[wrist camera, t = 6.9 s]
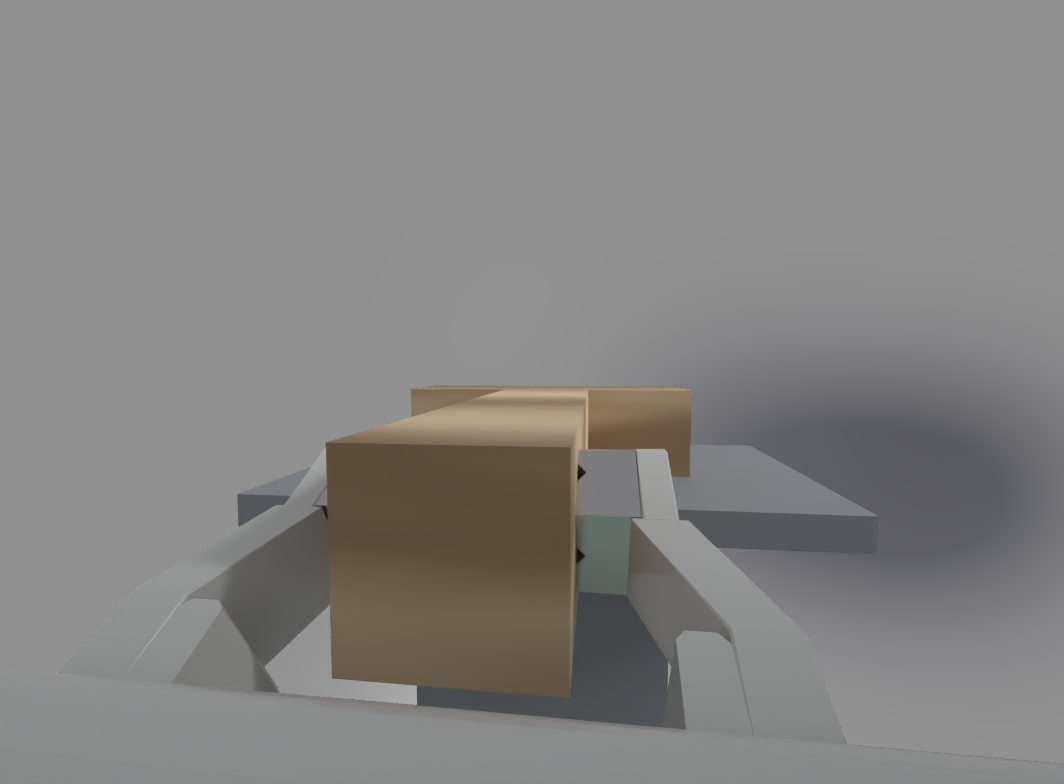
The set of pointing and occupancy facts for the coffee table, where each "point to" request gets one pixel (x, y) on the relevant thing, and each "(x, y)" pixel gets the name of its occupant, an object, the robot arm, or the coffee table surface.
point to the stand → (610, 620)
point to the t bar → (475, 530)
